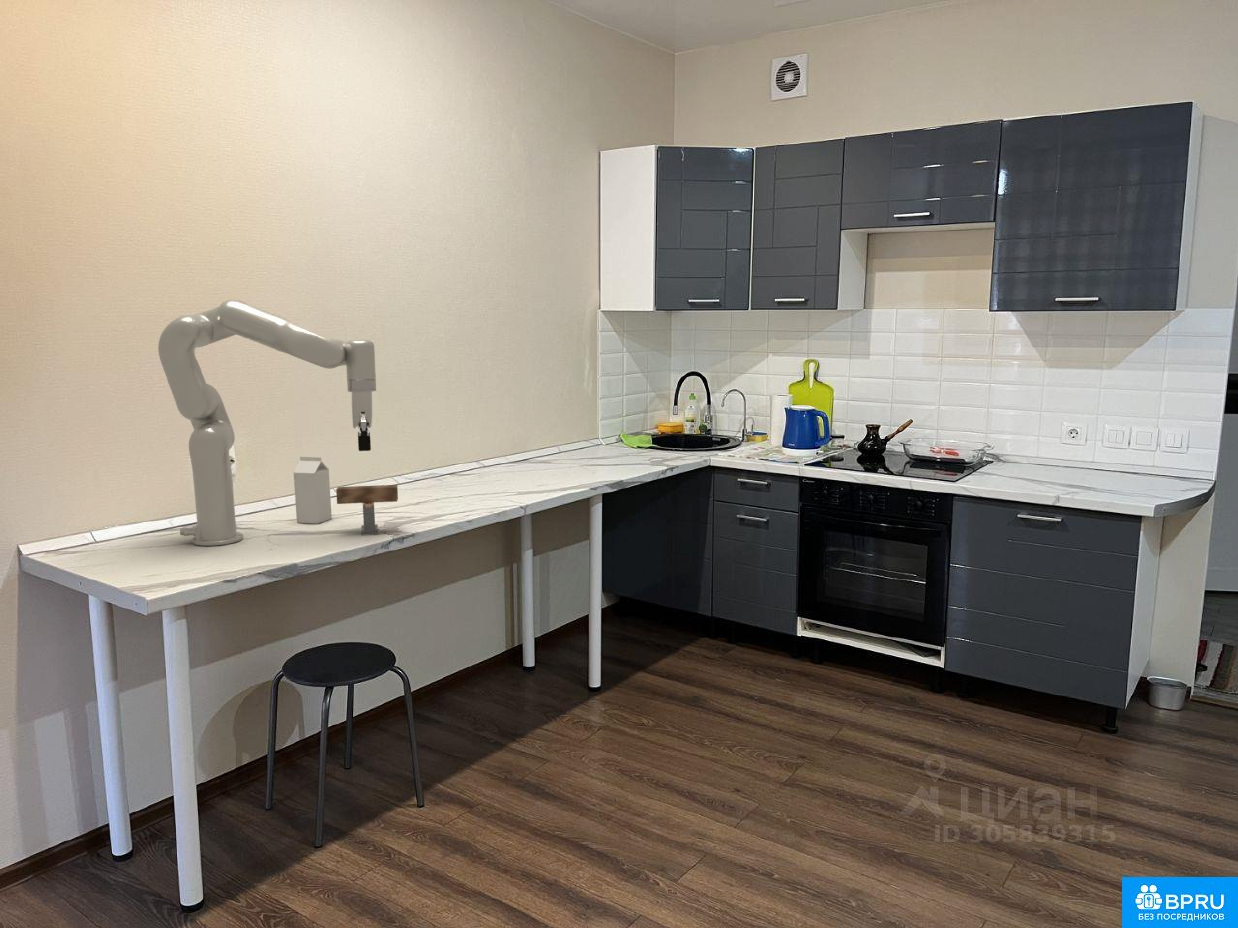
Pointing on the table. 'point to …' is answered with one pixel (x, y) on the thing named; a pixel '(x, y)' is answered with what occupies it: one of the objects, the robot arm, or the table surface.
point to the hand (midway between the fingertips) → (364, 448)
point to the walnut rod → (367, 494)
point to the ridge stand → (369, 519)
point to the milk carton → (312, 491)
